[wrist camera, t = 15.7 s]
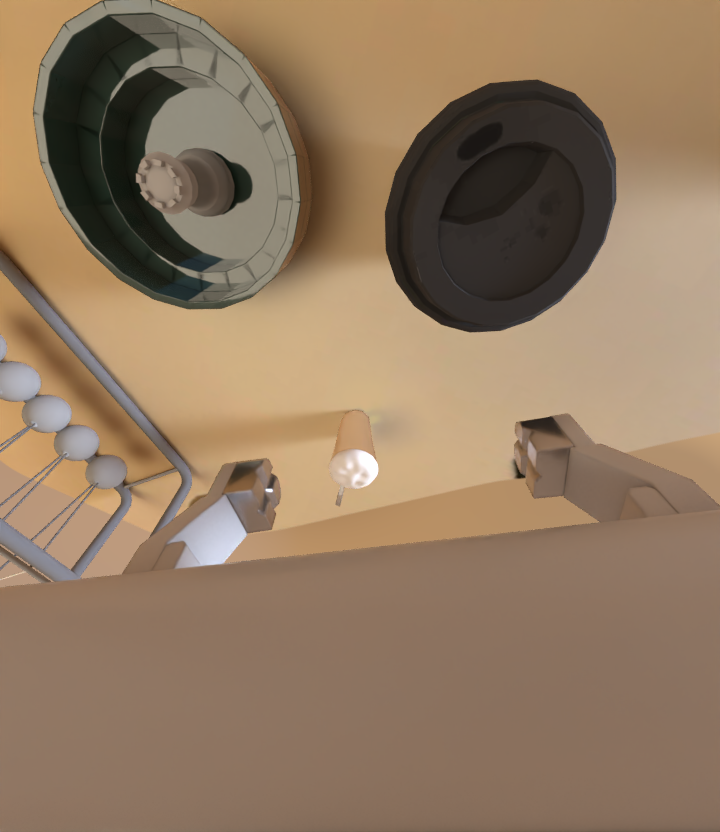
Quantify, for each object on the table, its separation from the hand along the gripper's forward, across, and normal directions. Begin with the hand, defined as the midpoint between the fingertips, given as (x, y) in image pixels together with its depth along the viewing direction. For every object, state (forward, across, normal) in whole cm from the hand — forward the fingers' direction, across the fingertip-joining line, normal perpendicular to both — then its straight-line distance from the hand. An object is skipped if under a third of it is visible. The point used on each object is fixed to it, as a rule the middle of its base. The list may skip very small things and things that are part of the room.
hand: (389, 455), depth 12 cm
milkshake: (+25, +5, +15) cm, 29 cm away
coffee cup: (+25, -7, -4) cm, 26 cm away
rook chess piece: (+24, +12, -10) cm, 28 cm away
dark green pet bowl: (+24, +12, -10) cm, 29 cm away
